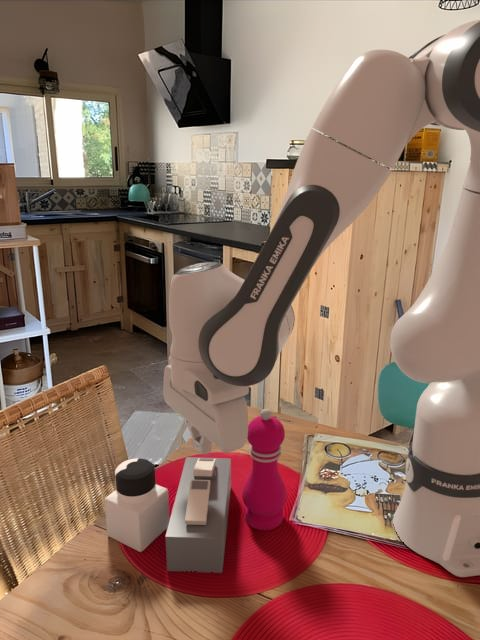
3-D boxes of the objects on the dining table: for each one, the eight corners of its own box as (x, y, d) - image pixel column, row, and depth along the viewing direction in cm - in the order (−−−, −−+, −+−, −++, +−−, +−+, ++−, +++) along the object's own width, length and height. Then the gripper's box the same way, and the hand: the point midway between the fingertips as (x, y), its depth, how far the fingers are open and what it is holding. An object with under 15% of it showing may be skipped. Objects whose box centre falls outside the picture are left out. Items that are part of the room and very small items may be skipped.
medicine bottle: (170, 525, 81) (167, 461, 77) (141, 553, 75) (136, 485, 71) (137, 510, 84) (133, 448, 81) (106, 536, 79) (100, 470, 75)
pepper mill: (283, 536, 79) (286, 423, 73) (238, 529, 80) (238, 418, 74) (288, 506, 85) (291, 401, 79) (246, 501, 87) (247, 397, 81)
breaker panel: (230, 487, 91) (230, 454, 89) (222, 572, 72) (222, 533, 69) (187, 485, 91) (186, 453, 89) (167, 571, 72) (165, 531, 70)
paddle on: (210, 484, 78) (210, 479, 77) (206, 525, 72) (205, 520, 71) (191, 483, 78) (190, 479, 77) (185, 524, 72) (184, 519, 71)
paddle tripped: (215, 464, 87) (215, 457, 87) (211, 476, 80) (211, 469, 80) (198, 463, 87) (198, 457, 87) (193, 475, 80) (193, 468, 80)
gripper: (152, 352, 82) (155, 427, 86) (217, 399, 66) (218, 488, 70) (186, 345, 85) (188, 417, 89) (256, 388, 69) (255, 474, 73)
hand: (202, 449), depth 79 cm, fingers closed
